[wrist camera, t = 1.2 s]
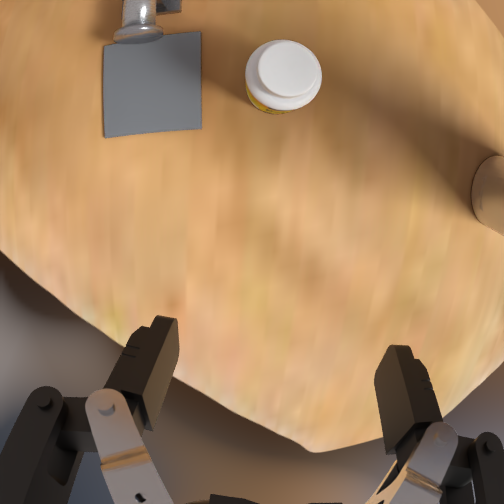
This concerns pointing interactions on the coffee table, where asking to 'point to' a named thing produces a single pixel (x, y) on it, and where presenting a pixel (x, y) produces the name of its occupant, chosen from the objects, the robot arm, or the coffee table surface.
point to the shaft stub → (143, 20)
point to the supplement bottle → (282, 76)
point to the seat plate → (153, 86)
